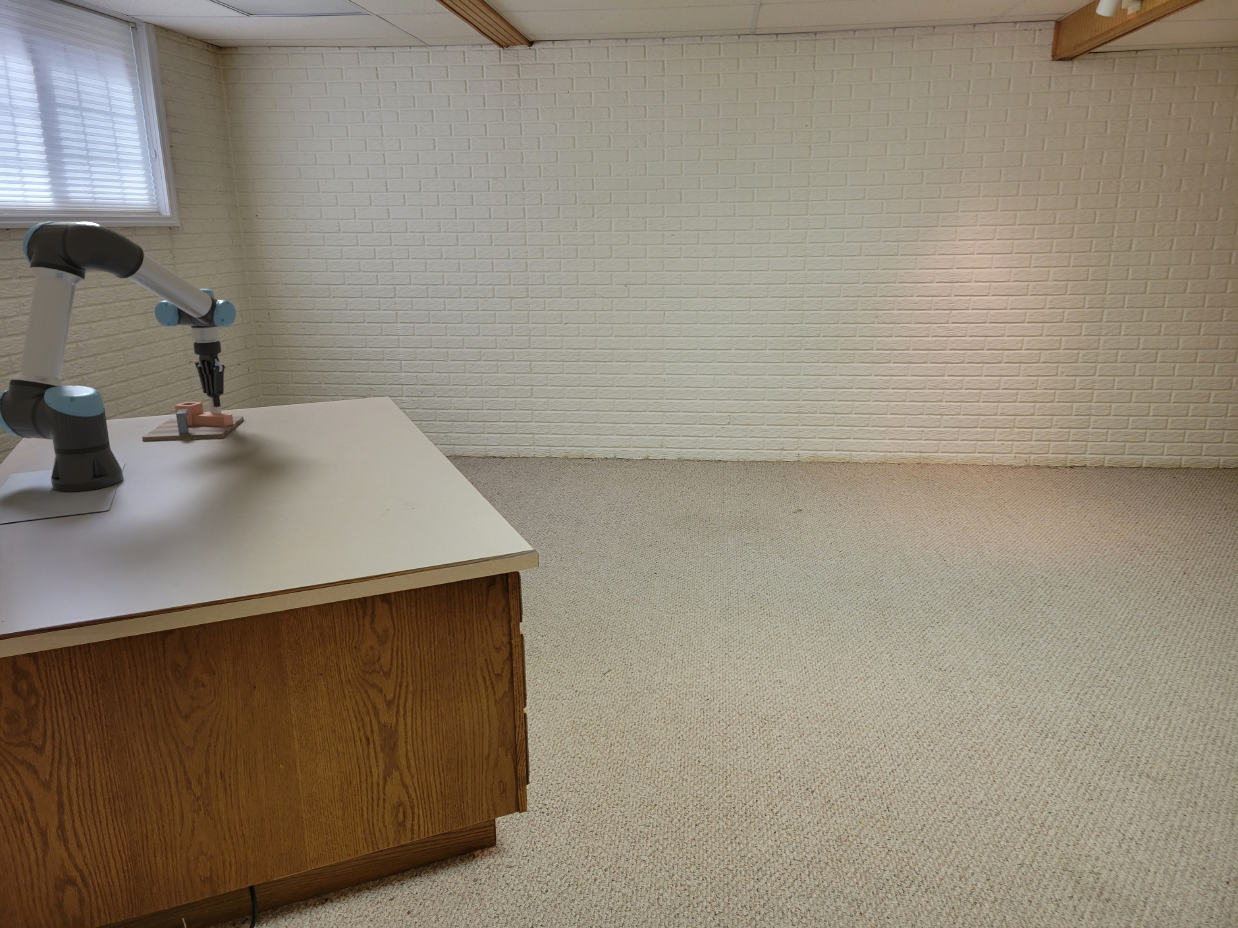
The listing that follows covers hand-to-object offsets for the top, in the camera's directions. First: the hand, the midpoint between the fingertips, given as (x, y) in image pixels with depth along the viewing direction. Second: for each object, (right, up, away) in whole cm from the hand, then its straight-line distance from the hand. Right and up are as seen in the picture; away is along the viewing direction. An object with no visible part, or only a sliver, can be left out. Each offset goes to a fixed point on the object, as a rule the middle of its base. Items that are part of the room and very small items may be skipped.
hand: (216, 416), depth 277 cm
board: (-4, -4, -5) cm, 8 cm away
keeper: (-4, -6, -13) cm, 15 cm away
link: (-2, -2, -3) cm, 4 cm away
